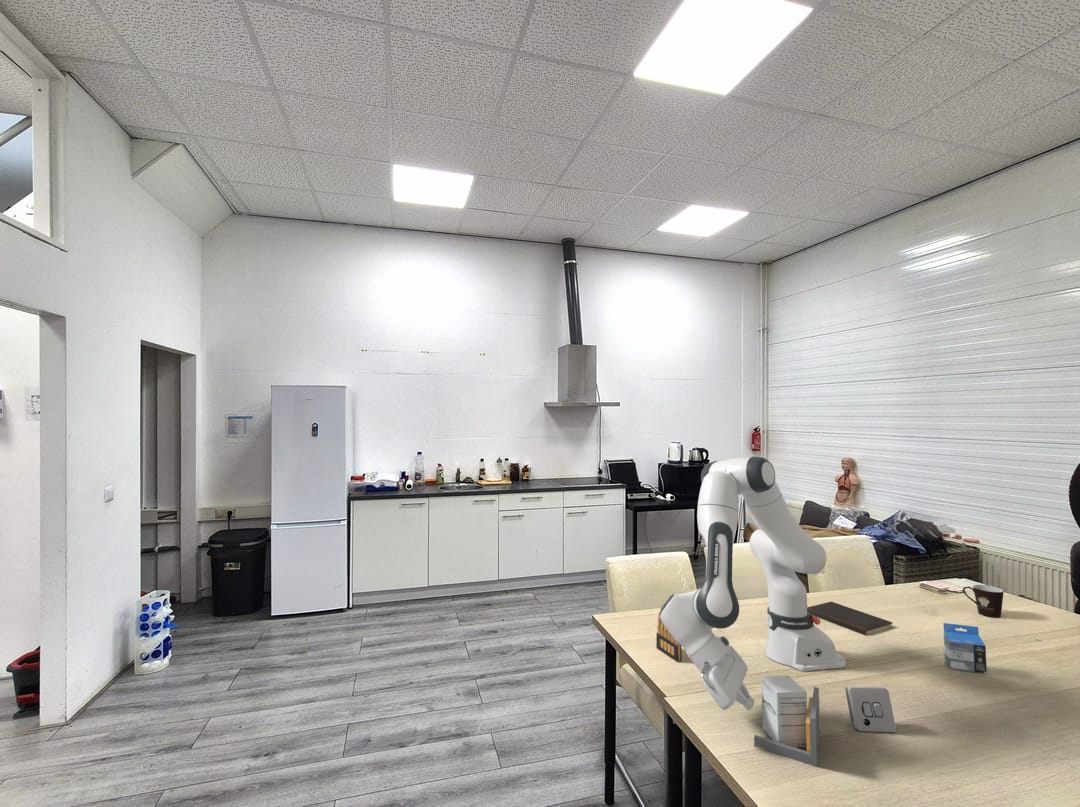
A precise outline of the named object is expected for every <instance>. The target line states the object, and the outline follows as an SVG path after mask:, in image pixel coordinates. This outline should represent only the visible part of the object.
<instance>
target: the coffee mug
mask: <svg viewBox="0 0 1080 807" xmlns="http://www.w3.org/2000/svg"><path fill="white" fill-rule="evenodd" d="M966 589H970V590H972V591H973V593H974V598H975V600H974V599H973V598H972V597H970V596H969V595H968V594H967V592H966ZM962 592H963V594H964V596H965V597H967V598H968V599H969V600H970V601H972V602H973V603H974V604H976V609H977V612H978V614H979V615H981V616H984V617H986V618H987V617H988V618H991V619H992V618H993V619H1000V618H1002V610H1003V602H1004V590H1003V589H1002V588H999V587H996V586H992V585H987V584H986V585H985V584H973V585H972V587H971V586H964V587H962Z"/></svg>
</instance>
